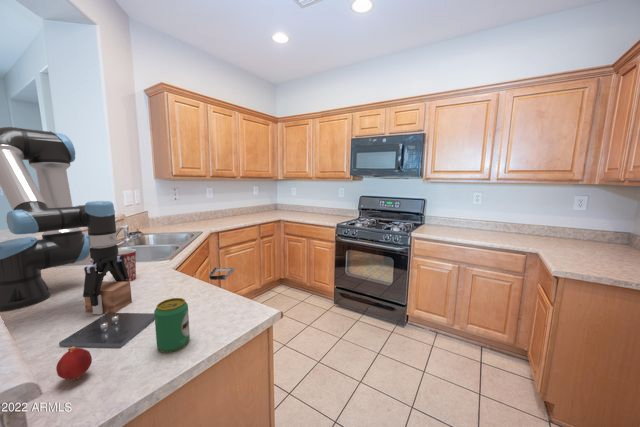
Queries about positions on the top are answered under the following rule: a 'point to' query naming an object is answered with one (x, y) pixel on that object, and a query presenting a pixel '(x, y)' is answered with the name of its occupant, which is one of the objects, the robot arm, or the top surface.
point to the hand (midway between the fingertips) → (110, 306)
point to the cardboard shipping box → (112, 296)
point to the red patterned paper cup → (129, 262)
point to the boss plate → (110, 330)
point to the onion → (74, 363)
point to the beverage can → (172, 324)
